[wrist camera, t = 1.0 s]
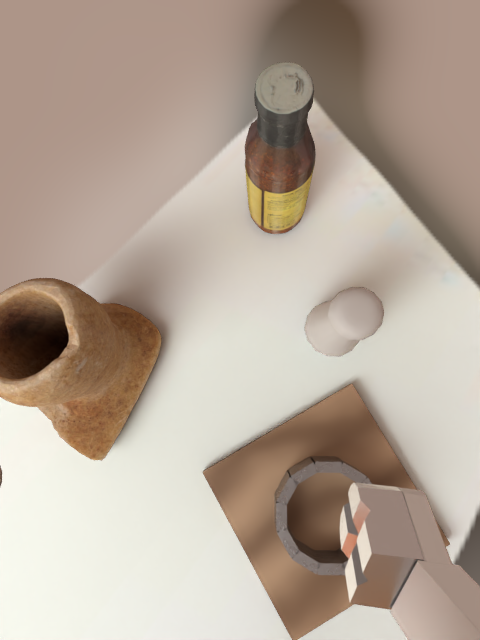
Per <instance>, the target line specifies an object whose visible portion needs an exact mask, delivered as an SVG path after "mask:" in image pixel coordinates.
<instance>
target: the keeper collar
mask: <svg viewBox="0 0 480 640" xmlns="http://www.w3.org/2000/svg"><path fill="white" fill-rule="evenodd" d="M288 470H289V471H286V473H285V475H284V476H283V478H282V480H281V482H280V484H279V486H278V487H277V489H276V491H275V494H274V514H275V526H276V531H277V534H278V536H279V538H280V539H281V541H282V543H283V545H284V547H285V549H286V550H287V552H288V554H289V556H290V558H292V560H294V561H295V562H297V563H298V564H300V565H302V566H303V567H305V568H306V569H308V570H310V571H311V572H313V573H315V574H318V575H345V568H346V566H347V563H348V560H349V559H348V557H347V556H346V555H345V553H344V552H343V551H342V549H341V548H339V549H338V550H313V549H312V548H310V547H309V546H307V545H305V544H304V543H302V542H300V541H299V540H297V539H296V538H295V537H294V535H293V533H292V531H291V529H290V528H289V526H288V524H287V504H288V502H289V500H290V498H291V496H292V494H293V493H294V491H295V489H296V487H297V485H298V484H299V483H301V482H303V481H304V480H306V479H308V478H309V477H311V476H313V475H314V474H316V473H341V474H343V475H345V476H346V477H348V478H350V479H351V480H353V481H355V483H364V484H372V483H371V481H370V480H369V478H368V477H367V476H366V475H365V474H363V473H362V472H361V471H360V470H358V469H357V468H355V467H353V466H352V465H350V464H348V463H347V462H345V461H343V460H342V459H340V458H338V457H335V456H311V458H310V457H307V458H306V459H304V460H302V461H301V462H299V463H297V464H296V465H294V466H292V467H291V468H289V469H288Z"/></svg>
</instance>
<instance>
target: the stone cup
mask: <svg viewBox="0 0 480 640" xmlns="http://www.w3.org/2000/svg"><path fill="white" fill-rule="evenodd" d="M161 341H162V338H161V335H160V332H159V330H158V329H157V327H156V326H155V325H154V324H153V323H152V322H151V321H150V320H149V319H147V318H146V317H144V316H143V315H142V314H140V313H138V312H137V311H135V310H133V309H131V308H128V307H125V306H122V305H119V304H115V303H109V304H107V303H103V304H100V303H99V302H97V301H96V300H95V299H94V298H92V297H91V296H89V295H88V294H86V293H85V292H83V291H82V290H81V289H79V288H77V287H76V286H74V285H72V284H70V283H67V282H64V281H62V280H58V279H53V278H39V279H38V278H37V279H31V280H28V281H24V282H21V283H19V284H16V285H14V286H12V287H10V288H8V289H6V290H5V291H3V292H2V293H0V397H2V398H3V399H5V400H7V401H9V402H11V403H14V404H18V405H23V406H29V407H38V408H39V409H40V410H41V411H42V412H43V413H44V414H45V415H46V416H47V417H48V418H49V419H50V420H51V421H52V423H53V426H54V429H55V430H56V431H57V432H58V434H59V436H60V437H61V438H62V439H64V440H65V442H66V443H68V444H69V445H70V446H71V447H73V448H74V449H76V450H77V451H78V452H79V453H81V454H83V455H85V456H86V457H88V458H90V459H92V460H103V459H104V458H105V457H106V455H107V453H108V452H109V450H110V449H111V447H112V445H113V444H114V442H115V439H116V438H117V437H118V435H119V433H120V432H121V430H122V428H123V426H124V424H125V423H126V421H127V419H128V416H129V414H130V412H131V410H132V409H133V407H134V405H135V403H136V402H137V400H138V398H139V396H140V394H141V392H142V390H143V388H144V386H145V384H146V382H147V380H148V377H149V375H150V373H151V371H152V369H153V367H154V365H155V362H156V360H157V357H158V355H159V351H160V347H161Z"/></svg>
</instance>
